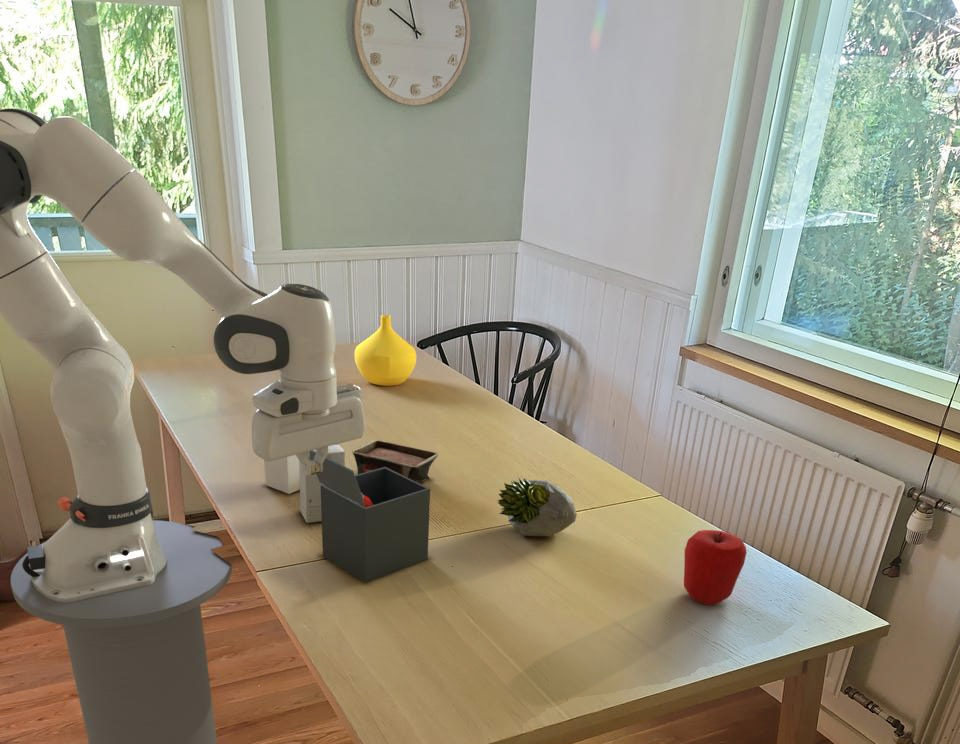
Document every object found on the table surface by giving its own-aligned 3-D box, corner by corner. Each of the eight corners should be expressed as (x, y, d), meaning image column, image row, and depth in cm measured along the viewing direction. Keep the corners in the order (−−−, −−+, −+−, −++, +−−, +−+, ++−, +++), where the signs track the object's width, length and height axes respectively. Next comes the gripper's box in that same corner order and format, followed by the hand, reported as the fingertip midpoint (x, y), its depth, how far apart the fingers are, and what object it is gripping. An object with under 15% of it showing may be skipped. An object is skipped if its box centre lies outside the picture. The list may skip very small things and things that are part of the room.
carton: (365, 582, 156) (364, 509, 149) (322, 556, 164) (320, 484, 156) (427, 558, 166) (430, 488, 158) (384, 534, 173) (385, 466, 166)
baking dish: (385, 472, 206) (378, 431, 201) (448, 479, 198) (443, 437, 193) (349, 495, 196) (340, 454, 191) (414, 504, 187) (407, 461, 182)
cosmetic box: (306, 524, 175) (303, 454, 168) (299, 511, 180) (296, 443, 172) (347, 519, 178) (345, 450, 171) (339, 507, 183) (337, 440, 175)
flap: (365, 505, 149) (363, 506, 148) (321, 481, 156) (319, 482, 156) (353, 470, 143) (351, 471, 143) (307, 447, 151) (306, 448, 151)
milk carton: (265, 485, 190) (259, 401, 180) (289, 476, 195) (284, 393, 185) (288, 494, 187) (284, 409, 177) (312, 485, 192) (308, 401, 182)
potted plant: (580, 532, 172) (514, 520, 165) (546, 548, 183) (483, 537, 177) (580, 475, 174) (515, 460, 168) (547, 494, 186) (485, 481, 179)
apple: (733, 589, 163) (749, 523, 156) (734, 616, 154) (751, 548, 147) (677, 579, 165) (690, 514, 158) (675, 606, 156) (689, 538, 149)
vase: (391, 369, 273) (391, 306, 263) (428, 384, 261) (430, 319, 252) (342, 378, 262) (341, 312, 252) (379, 394, 250) (379, 326, 241)
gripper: (349, 376, 147) (351, 454, 154) (243, 398, 134) (250, 481, 141) (372, 386, 143) (373, 464, 150) (265, 409, 131) (271, 493, 138)
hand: (312, 473), depth 146 cm, fingers closed
